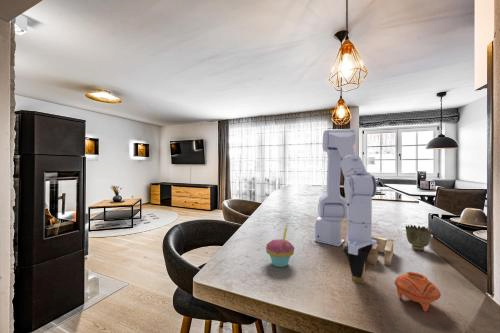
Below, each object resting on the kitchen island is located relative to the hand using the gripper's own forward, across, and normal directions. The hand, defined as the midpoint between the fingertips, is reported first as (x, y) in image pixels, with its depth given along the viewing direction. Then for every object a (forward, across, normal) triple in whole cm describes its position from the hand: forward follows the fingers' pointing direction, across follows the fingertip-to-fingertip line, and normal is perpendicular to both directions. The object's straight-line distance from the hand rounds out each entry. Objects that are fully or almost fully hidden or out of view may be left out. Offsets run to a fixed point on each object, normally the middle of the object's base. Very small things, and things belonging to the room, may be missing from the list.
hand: (358, 273), depth 56 cm
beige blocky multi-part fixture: (+2, +21, 0) cm, 21 cm away
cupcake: (+2, -4, +21) cm, 21 cm away
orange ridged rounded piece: (+2, -2, -12) cm, 12 cm away
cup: (+2, +36, -13) cm, 38 cm away
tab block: (+2, +8, 0) cm, 8 cm away
